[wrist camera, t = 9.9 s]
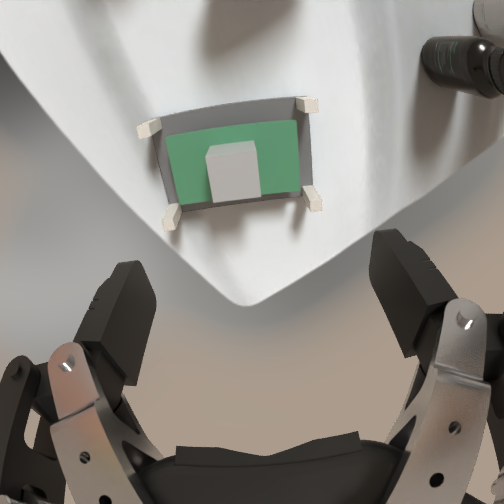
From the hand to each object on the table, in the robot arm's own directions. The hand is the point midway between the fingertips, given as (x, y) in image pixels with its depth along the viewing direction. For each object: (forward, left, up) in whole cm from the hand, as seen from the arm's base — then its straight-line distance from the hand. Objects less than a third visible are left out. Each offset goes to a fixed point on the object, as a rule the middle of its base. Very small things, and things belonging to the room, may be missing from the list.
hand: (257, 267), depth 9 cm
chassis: (+1, +2, -22) cm, 22 cm away
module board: (+1, +2, -19) cm, 19 cm away
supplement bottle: (-25, -9, -23) cm, 35 cm away
